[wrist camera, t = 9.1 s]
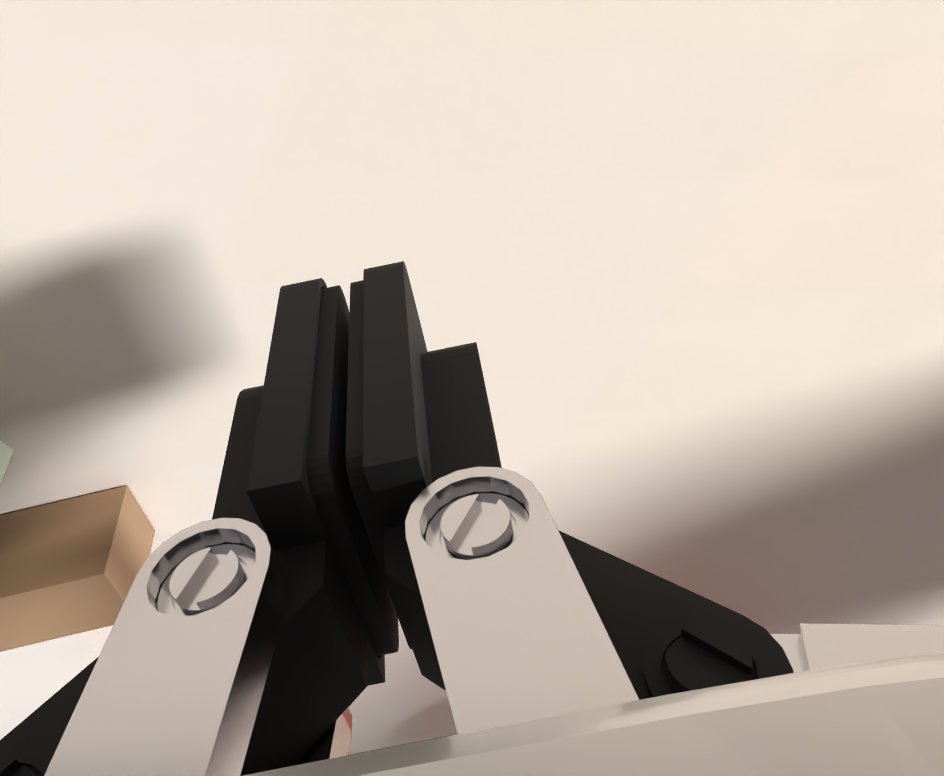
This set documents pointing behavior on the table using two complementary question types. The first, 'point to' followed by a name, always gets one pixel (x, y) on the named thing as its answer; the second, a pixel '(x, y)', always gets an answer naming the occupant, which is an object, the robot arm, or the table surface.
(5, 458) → the t block
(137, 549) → the wooden u-shaped bracket
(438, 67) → the table surface
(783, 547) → the table surface
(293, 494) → the robot arm
